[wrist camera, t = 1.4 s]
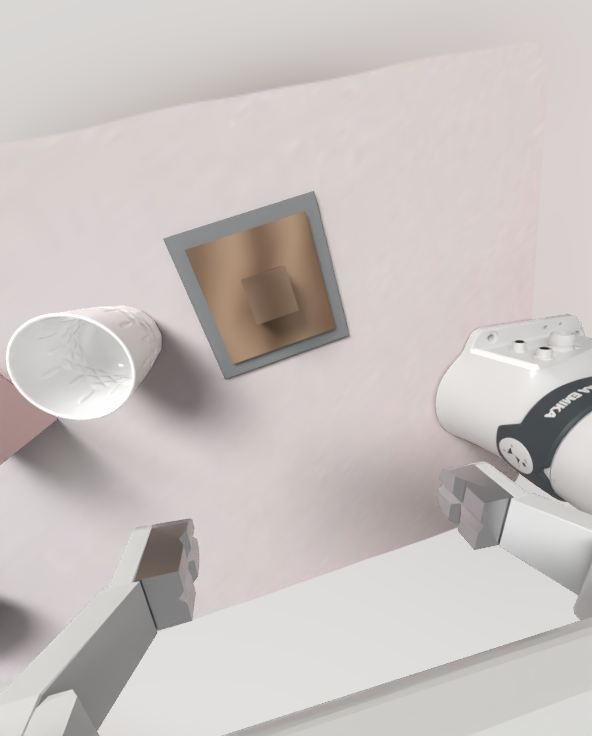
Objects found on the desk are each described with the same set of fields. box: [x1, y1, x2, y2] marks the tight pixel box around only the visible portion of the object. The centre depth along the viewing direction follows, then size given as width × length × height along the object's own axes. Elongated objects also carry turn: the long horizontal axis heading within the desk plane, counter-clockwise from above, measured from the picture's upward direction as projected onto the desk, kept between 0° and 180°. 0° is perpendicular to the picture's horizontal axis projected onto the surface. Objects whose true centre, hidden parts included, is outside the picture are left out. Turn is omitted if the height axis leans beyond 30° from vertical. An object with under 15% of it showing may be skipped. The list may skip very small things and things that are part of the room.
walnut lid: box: [185, 211, 335, 364], centre depth 27 cm, size 12×12×5 cm
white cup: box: [6, 305, 162, 420], centre depth 24 cm, size 8×8×10 cm
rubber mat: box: [164, 191, 349, 379], centre depth 30 cm, size 15×15×1 cm
